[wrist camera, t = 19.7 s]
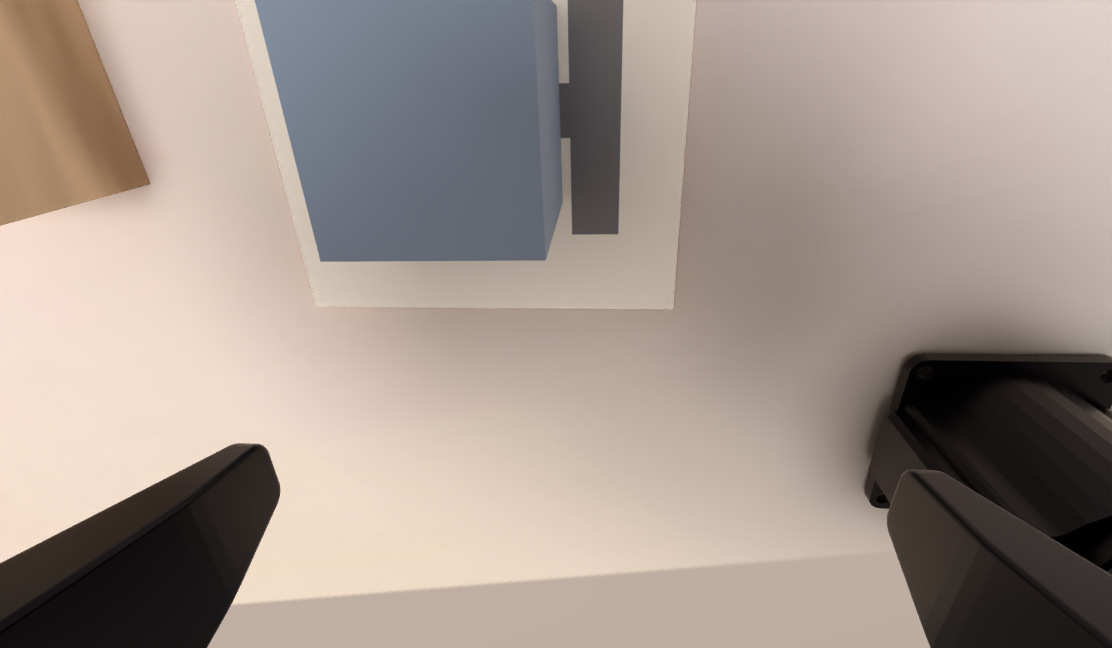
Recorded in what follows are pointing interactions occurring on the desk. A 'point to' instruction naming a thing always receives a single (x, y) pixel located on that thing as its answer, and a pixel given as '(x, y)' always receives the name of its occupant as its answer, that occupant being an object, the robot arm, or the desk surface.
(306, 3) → the slate blue cube
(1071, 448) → the robot arm
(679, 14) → the board
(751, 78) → the desk surface
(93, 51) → the light oak block
